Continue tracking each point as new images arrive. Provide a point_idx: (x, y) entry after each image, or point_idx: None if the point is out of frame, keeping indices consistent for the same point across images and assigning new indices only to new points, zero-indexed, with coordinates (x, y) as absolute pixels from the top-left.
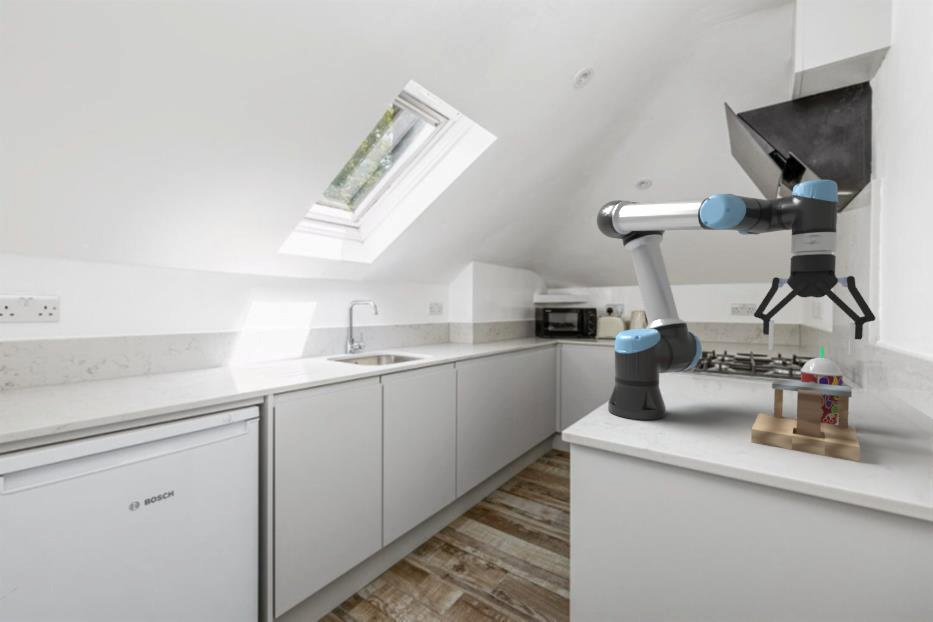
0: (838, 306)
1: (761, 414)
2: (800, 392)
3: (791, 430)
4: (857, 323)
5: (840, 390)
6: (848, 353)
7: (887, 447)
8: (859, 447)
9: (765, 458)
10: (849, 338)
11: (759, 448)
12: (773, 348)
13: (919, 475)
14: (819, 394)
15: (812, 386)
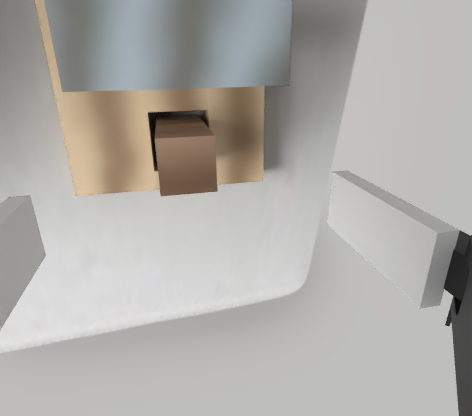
0: (466, 403)
1: (44, 6)
2: (166, 185)
3: (148, 145)
4: (448, 322)
5: (262, 79)
6: (333, 172)
7: (309, 22)
8: (262, 180)
9: (130, 262)
10: (370, 232)
11: (107, 215)
12: (29, 197)
13: (322, 179)
14: (212, 177)
15: (187, 60)
